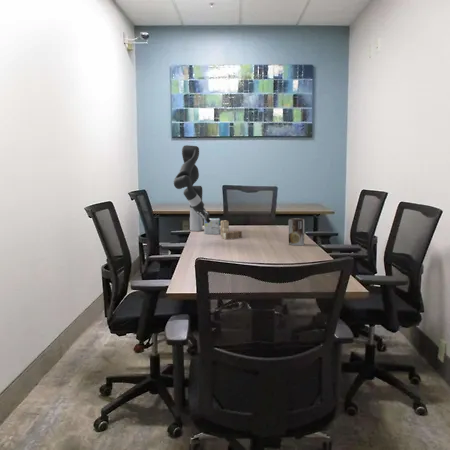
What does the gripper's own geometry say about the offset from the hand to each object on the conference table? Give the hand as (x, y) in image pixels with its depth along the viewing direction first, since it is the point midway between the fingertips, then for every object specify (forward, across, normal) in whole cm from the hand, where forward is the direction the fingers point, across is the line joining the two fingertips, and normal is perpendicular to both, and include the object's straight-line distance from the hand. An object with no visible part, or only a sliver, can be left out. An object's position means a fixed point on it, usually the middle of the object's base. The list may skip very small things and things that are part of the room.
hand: (208, 221), depth 296 cm
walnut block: (+15, -2, -2) cm, 15 cm away
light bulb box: (+22, +21, -5) cm, 31 cm away
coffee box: (+29, -46, -21) cm, 58 cm away
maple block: (+23, +10, -8) cm, 26 cm away
